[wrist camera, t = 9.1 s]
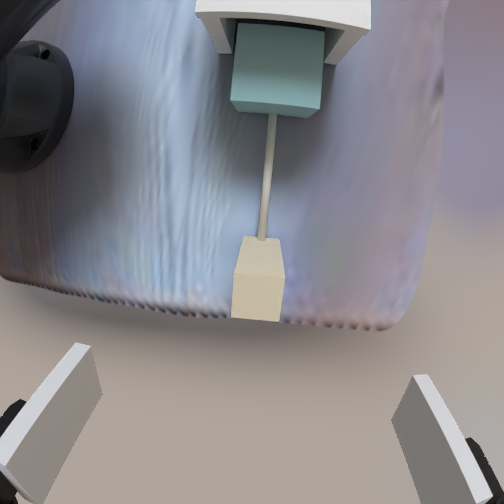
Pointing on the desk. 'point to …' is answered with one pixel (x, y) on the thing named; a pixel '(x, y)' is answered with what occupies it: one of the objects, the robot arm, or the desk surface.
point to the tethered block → (271, 143)
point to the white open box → (290, 20)
